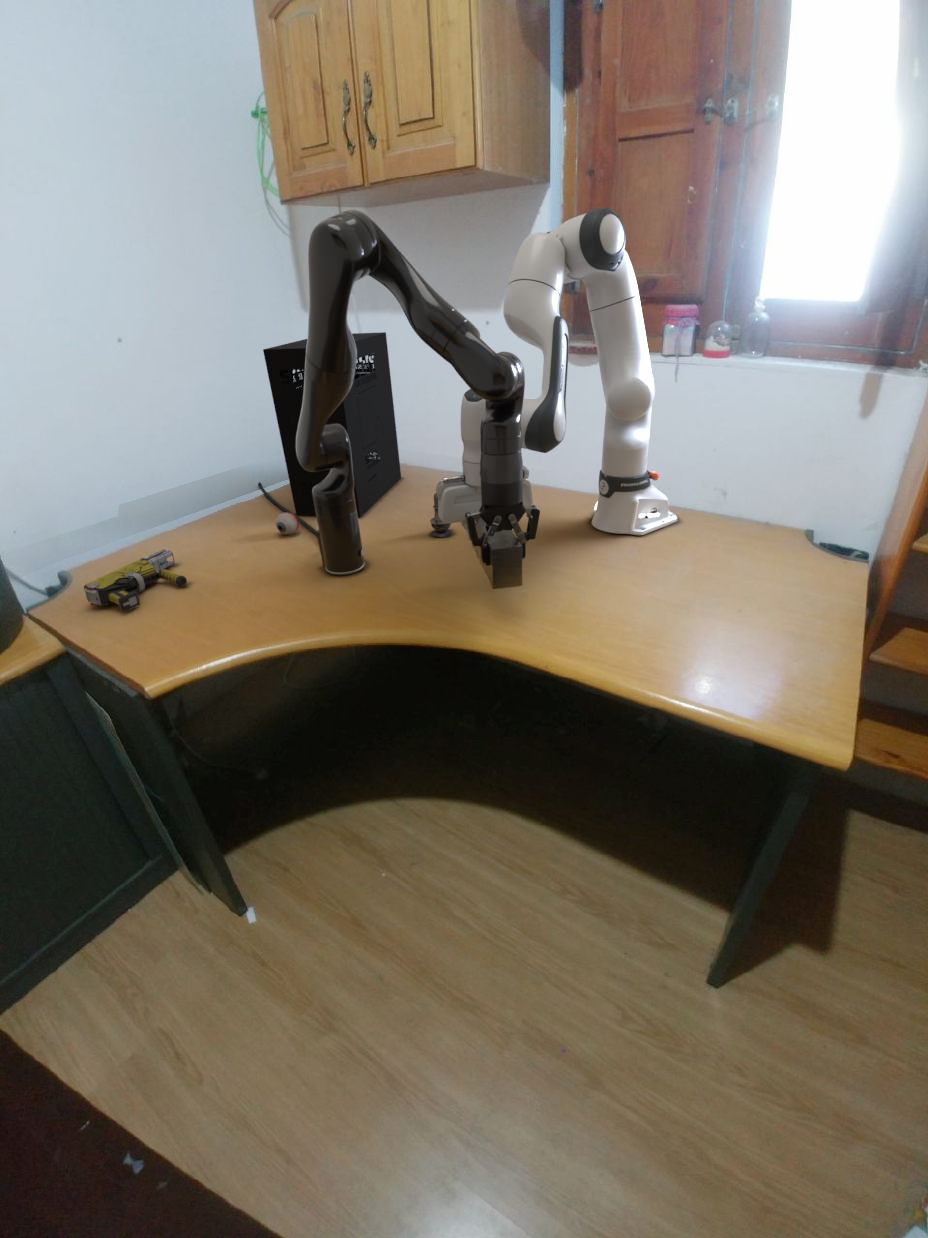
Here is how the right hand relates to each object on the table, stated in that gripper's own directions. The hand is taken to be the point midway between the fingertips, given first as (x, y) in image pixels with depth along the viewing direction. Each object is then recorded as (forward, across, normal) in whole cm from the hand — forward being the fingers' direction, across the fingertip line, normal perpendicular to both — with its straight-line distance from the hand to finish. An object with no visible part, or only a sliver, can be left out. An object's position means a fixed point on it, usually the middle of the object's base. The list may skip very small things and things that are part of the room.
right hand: (486, 535), depth 129 cm
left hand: (-1, -2, -16) cm, 16 cm away
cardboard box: (+11, -20, +74) cm, 77 cm away
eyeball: (+11, -41, +48) cm, 64 cm away
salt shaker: (+11, -2, +31) cm, 33 cm away
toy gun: (+11, -73, +27) cm, 79 cm away
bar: (+3, -1, -8) cm, 9 cm away
